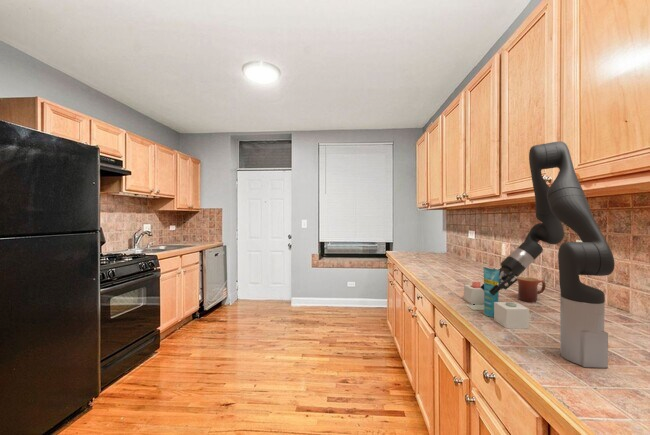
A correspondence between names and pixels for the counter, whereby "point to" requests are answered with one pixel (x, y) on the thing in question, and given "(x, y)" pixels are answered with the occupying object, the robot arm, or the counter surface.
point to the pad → (476, 307)
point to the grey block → (474, 295)
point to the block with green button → (511, 315)
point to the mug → (529, 288)
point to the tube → (489, 282)
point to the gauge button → (476, 284)
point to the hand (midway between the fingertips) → (486, 291)
